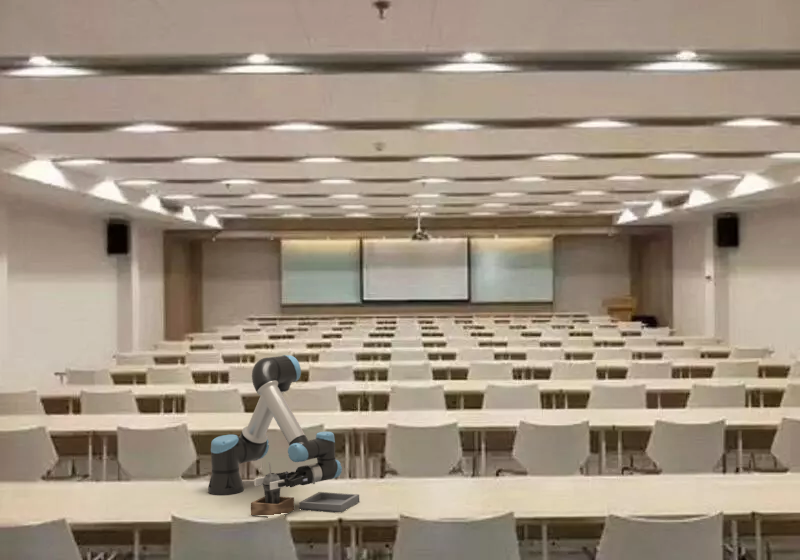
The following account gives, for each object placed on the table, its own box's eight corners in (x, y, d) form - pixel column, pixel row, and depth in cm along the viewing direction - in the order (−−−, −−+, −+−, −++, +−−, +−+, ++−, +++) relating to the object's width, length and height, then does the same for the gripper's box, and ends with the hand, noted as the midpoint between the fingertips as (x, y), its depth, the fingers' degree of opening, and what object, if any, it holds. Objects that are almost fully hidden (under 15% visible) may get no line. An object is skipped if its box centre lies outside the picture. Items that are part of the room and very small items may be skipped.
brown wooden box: (250, 515, 379) (250, 502, 379) (266, 508, 390) (266, 495, 390) (279, 518, 374) (279, 504, 374) (294, 510, 386) (293, 497, 386)
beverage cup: (286, 511, 384) (284, 460, 383) (274, 516, 377) (272, 464, 377) (271, 509, 387) (269, 459, 387) (259, 514, 381) (258, 462, 381)
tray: (299, 509, 386) (299, 502, 386) (319, 499, 403) (319, 491, 403) (340, 512, 380) (340, 505, 380) (359, 501, 396) (359, 494, 396)
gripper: (325, 487, 387) (280, 498, 371) (291, 479, 403) (246, 489, 387) (325, 468, 387) (279, 478, 371) (291, 461, 403) (245, 470, 387)
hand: (262, 484), depth 379 cm, fingers open, 9 cm apart
